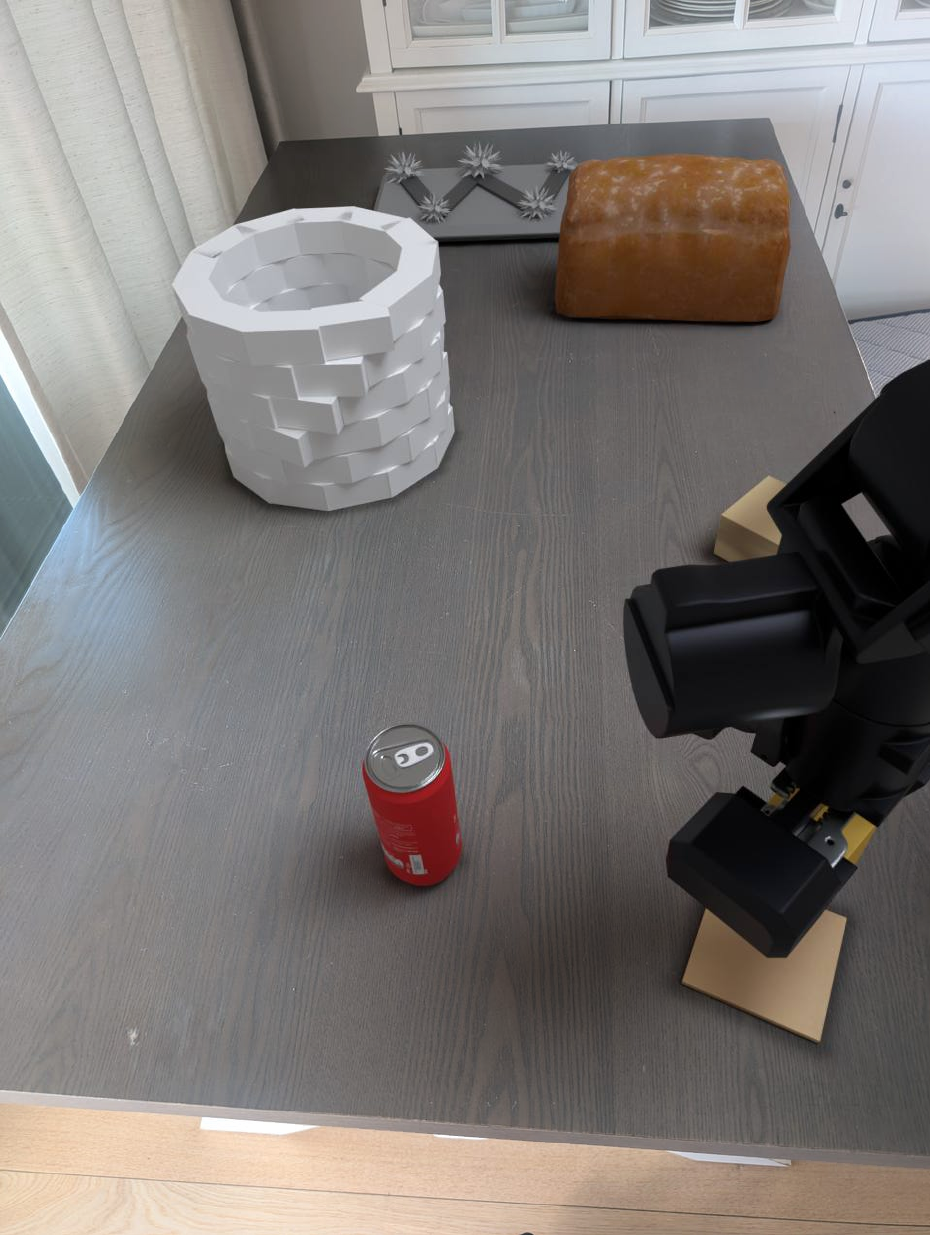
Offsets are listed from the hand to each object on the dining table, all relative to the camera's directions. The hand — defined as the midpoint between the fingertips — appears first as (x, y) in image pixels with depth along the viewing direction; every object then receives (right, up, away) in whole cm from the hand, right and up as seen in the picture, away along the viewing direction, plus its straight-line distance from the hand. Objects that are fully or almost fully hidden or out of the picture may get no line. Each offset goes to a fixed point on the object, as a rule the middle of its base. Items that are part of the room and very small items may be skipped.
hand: (802, 855), depth 47 cm
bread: (+6, +51, +61) cm, 80 cm away
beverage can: (-21, -4, +13) cm, 25 cm away
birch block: (+9, +18, +30) cm, 37 cm away
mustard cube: (0, 0, +1) cm, 1 cm away
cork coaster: (0, -8, +7) cm, 11 cm away
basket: (-31, +31, +46) cm, 63 cm away
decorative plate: (-16, +70, +81) cm, 108 cm away
